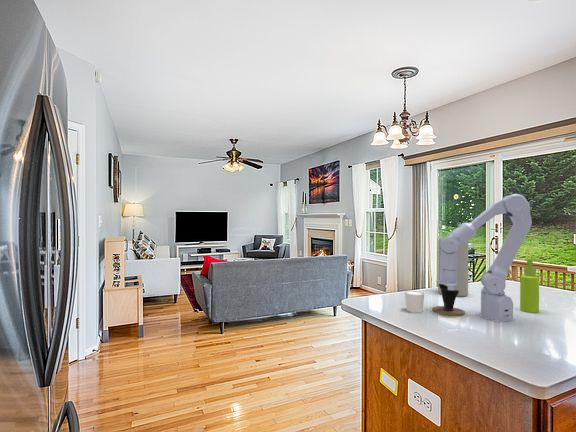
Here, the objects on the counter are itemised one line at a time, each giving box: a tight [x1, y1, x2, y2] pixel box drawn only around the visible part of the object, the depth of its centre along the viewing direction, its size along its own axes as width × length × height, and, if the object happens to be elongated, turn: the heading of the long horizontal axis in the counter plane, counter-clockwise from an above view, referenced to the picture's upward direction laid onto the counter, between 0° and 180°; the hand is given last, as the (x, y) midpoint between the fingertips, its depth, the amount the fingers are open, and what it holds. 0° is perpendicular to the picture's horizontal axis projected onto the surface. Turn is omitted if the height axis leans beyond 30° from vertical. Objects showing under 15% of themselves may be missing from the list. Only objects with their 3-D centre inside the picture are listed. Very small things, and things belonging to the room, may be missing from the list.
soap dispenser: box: [519, 257, 543, 314], centre depth 129 cm, size 6×7×20 cm
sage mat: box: [424, 307, 474, 319], centre depth 126 cm, size 12×12×1 cm
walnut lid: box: [431, 302, 466, 317], centre depth 126 cm, size 11×11×3 cm
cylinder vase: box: [437, 238, 469, 298], centre depth 157 cm, size 12×12×25 cm
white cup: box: [404, 290, 425, 314], centre depth 127 cm, size 7×7×7 cm
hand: (448, 306), depth 126 cm, fingers open, 7 cm apart
